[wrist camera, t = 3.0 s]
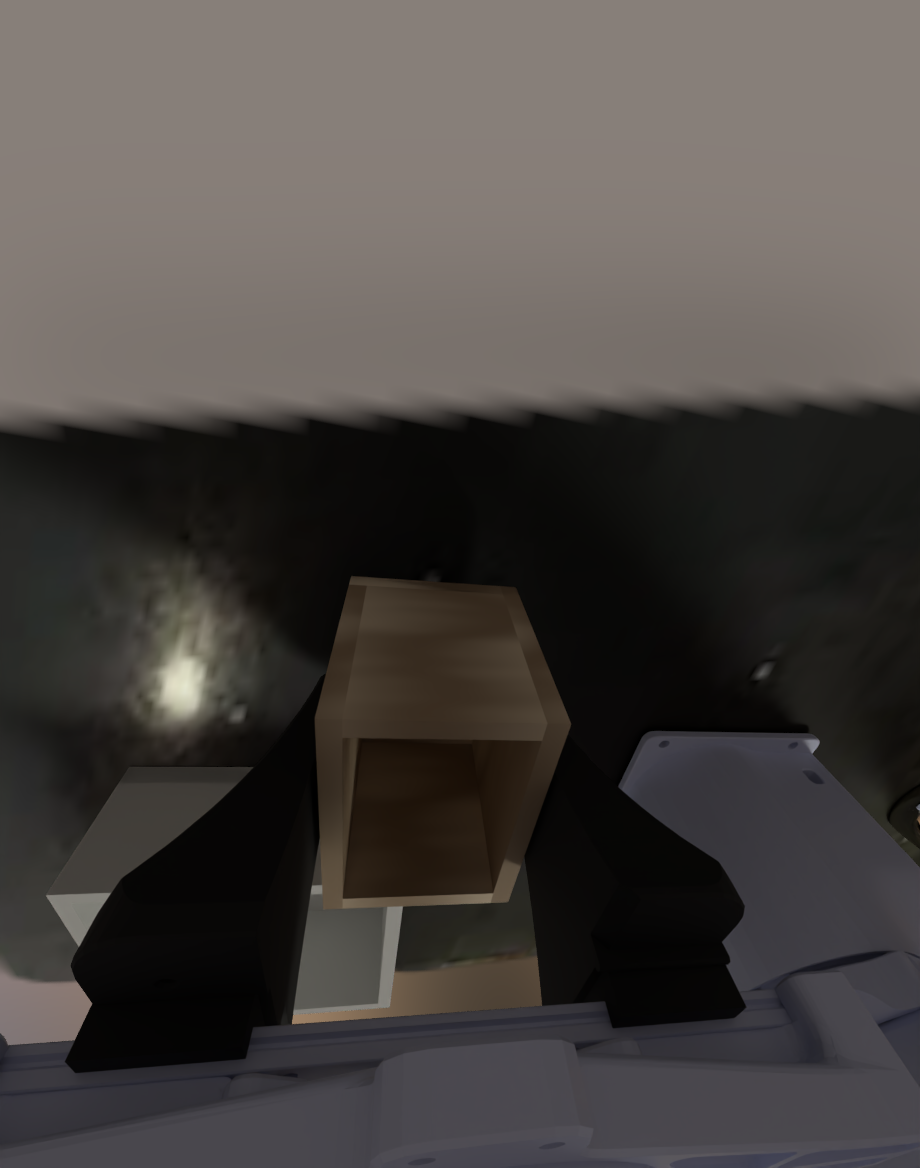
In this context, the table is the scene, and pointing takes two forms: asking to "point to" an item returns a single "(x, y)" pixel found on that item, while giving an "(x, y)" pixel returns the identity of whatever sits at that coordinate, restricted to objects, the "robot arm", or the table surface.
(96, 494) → the table surface
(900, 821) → the beer glass
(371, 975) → the storage crate
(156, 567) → the table surface
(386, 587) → the wood crate
